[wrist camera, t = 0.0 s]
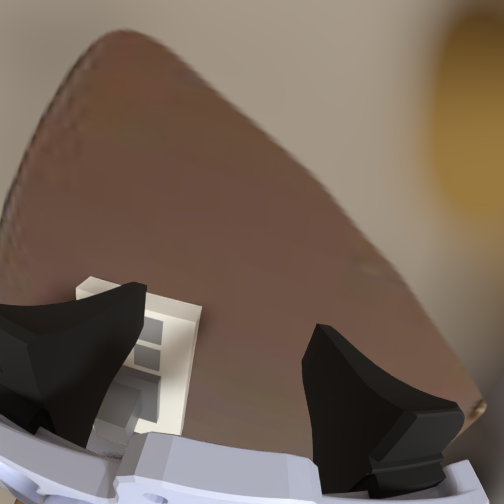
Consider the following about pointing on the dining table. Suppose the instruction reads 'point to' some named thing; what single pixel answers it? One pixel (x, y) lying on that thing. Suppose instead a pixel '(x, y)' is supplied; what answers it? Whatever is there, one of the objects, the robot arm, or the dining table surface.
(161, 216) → the dining table surface
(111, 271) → the dining table surface
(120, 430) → the plug
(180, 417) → the white flat panel
